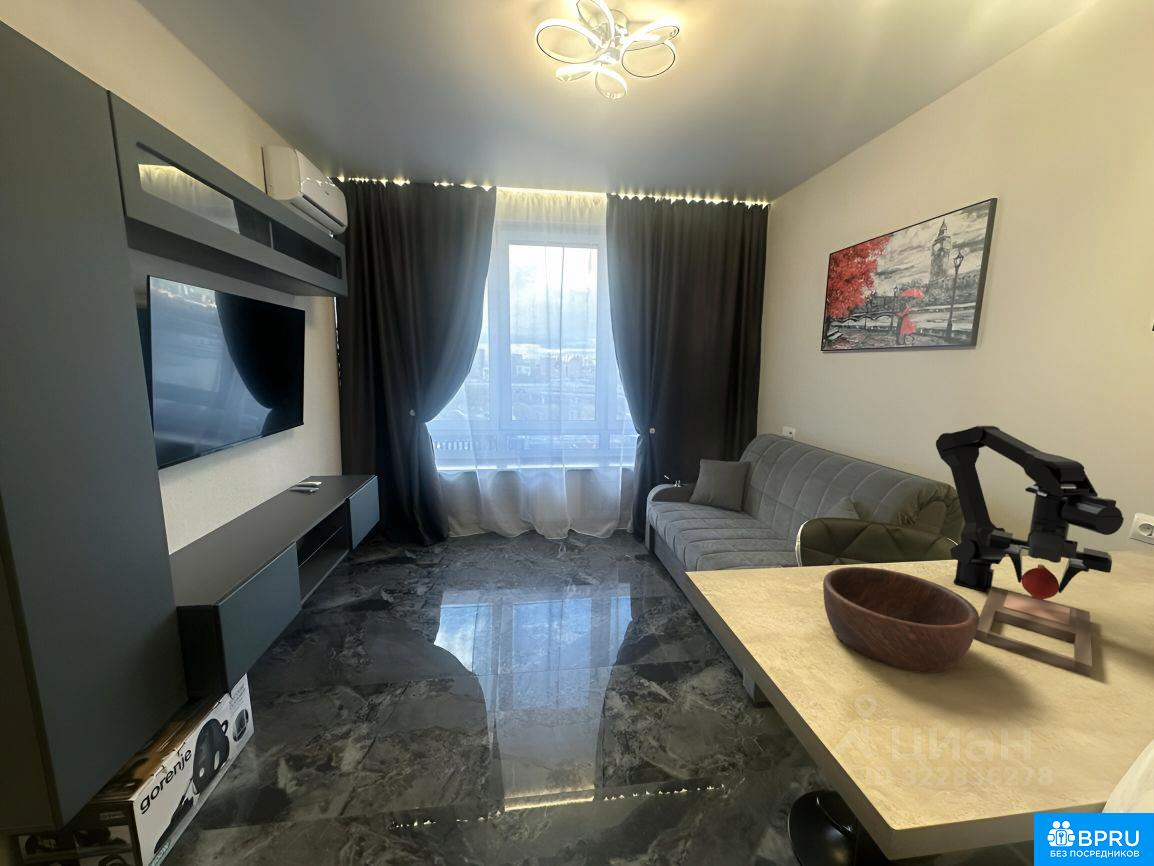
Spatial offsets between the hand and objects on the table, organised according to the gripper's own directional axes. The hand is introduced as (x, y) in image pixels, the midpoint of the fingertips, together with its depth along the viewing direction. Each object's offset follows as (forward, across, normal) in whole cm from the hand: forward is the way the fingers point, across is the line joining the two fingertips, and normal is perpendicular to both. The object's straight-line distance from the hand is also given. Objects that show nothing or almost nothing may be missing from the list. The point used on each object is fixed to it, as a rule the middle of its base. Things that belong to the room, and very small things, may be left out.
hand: (1039, 587), depth 102 cm
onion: (+3, 0, 0) cm, 3 cm away
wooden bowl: (+7, -19, -35) cm, 41 cm away
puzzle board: (+7, 0, -7) cm, 10 cm away
